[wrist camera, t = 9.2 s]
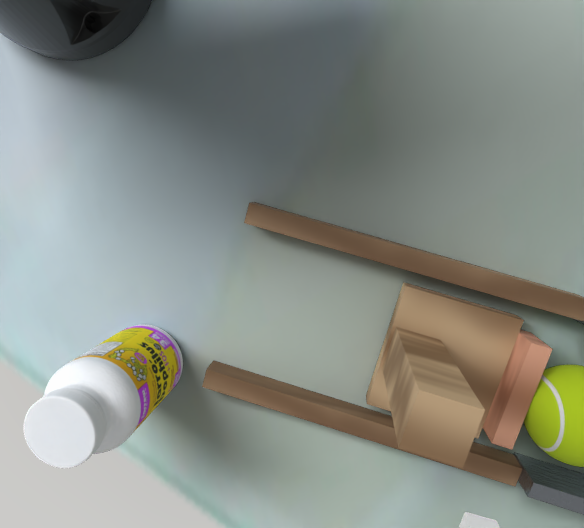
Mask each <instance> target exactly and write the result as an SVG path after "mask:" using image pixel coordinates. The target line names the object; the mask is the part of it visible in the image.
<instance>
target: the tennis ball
mask: <svg viewBox="0 0 584 528" xmlns="http://www.w3.org/2000/svg"><path fill="white" fill-rule="evenodd" d="M524 424H525V427H526V429H527V431H528V433H529V435H530V437H531V438H532V439H533V441H534V442H535V443H536V444H537V445H538V446H539V447H540V448H541V449H542V450H543V451H544V452H546V453H547V454H548V455H550V456H551V457H553V458H555V459H557V460H559V461H561V462H564V463H566V464H569V465H573V466H578V467H584V366H580V365H559V366H554V367H550V368H548V369H545V370H544V372H543V374H542V377H541V379H540V382H539V384H538V387H537V389H536V392H535V394H534V397H533V399H532V402H531V404H530V407H529V409H528V412H527V414H526V417H525V419H524Z"/></svg>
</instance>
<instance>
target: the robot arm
mask: <svg viewBox="0 0 584 528" xmlns="http://www.w3.org/2000/svg"><path fill="white" fill-rule="evenodd" d="M151 1H152V0H0V33H2V34H3V35H4V36H6V37H7V38H9V39H10V40H12V41H14V42H15V43H17V44H19V45H21V46H23V47H26V48H28V49H30V50H32V51H34V52H37V53H39V54H42V55H44V56H47V57H51V58H55V59H62V60H79V59H86V58H90V57H94V56H97V55H100V54H102V53H104V52H106V51H108V50H110V49H112V48H114V47H115V46H117V45H118V44H119V43H121V42H122V41H123V40H124V39H126V38H127V37H128V36H129V35H130V34H131V33H132V31H133V30H134V29H135V28H136V27H137V25H138V24H139V23H140V21H141V20H142V18H143V17H144V15H145V13H146V12H147V10H148V8H149V5H150V3H151ZM459 528H500V527H499V525H498V523H497V520H493V519H490V518H486V517H483V516H479V515H475V514H472V513H468V512H464V515H463V518H462V520H461V523H460V526H459Z"/></svg>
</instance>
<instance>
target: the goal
mask: <svg viewBox="0 0 584 528" xmlns="http://www.w3.org/2000/svg"><path fill="white" fill-rule="evenodd" d="M572 319H573V318H572ZM574 320H576V321H578V322H580V323H581V324H583V325H584V321H580V320H577V319H574ZM513 455H514V456H515V458H516V459H517V461H518V463H519V464H520V466H521V467H522V471H521V474H520V476H519V479H518V481H519V483H520V484H521V486H522V488H523V489H524V491H525V493H526V494H527V496H528V497H531V498H534V499H537V500H540V501H543V502H546V503H549V504H552V505H556V506H559V507H562V508H565V509H568V510H571V511H574V512H578V513H581V514H584V474H582V473H579V472H575V471H572V470H569V469H566V468H563V467H559V466H556V465H553V464H550V463H547V462H543V461H540V460H537V459H534V458H531V457H528V456H524V455H521V454H518V453H515V452H514V454H513Z"/></svg>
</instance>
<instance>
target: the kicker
mask: <svg viewBox="0 0 584 528" xmlns="http://www.w3.org/2000/svg"><path fill="white" fill-rule="evenodd" d="M523 321H524V320H522V319H521V318H520V317H518V316H517V315H514V314H511V313H507V312H504V311H500V310H497V309H494V308H490V307H487V306H483V305H480V304H476V303H473V302H470V301H466V300H463V299H459V298H456V297H453V296H449V295H446V294H442V293H439V292H435V291H432V290H429V289H425V288H422V287H418V286H415V285H411V284H408V283H405V282H403V285H402V288H401V291H400V294H399V297H398V300H397V303H396V306H395V309H394V313H393V316H392V319H391V322H390V325H389V328H388V331H387V334H386V337H385V340H384V343H383V346H382V349H381V352H380V355H379V358H378V361H377V364H376V367H375V370H374V373H373V376H372V379H371V382H370V385H369V388H368V391H367V394H366V400H367V404H369V405H372V406H375V407H378V408H382V409H385V410H388V411H391V413H392V418H393V423H394V428H395V433H396V438H397V443H398V448H399V449H403V450H406V451H409V452H412V453H415V454H418V455H421V456H425V457H428V458H431V459H434V460H437V461H440V462H443V463H447V464H450V465H453V466H456V467H459V468H462V469H463V466H464V464H465V461H466V458H467V456H468V453H469V451H470V448H471V445H472V443H473V440H474V438H479V436H480V433H481V430H482V428H483V429H484V431H485V432H486V434H487V436H488V438H489V439H490V441H491V443H492V444H496V445H499V446H502V447H505V448H508V449H513V446H514V444H515V441H516V439H517V436H518V434H519V431H520V429H521V426H522V424H523V421H524V419H525V417H526V414H527V412H528V409H529V407H530V404H531V402H532V399H533V397H534V394H535V392H536V389H537V387H538V384H539V382H540V379H541V377H542V374H543V372H544V369H545V367H546V364H547V362H548V359H549V357H550V354H551V352H552V348H550V347H549V346H548V345H547V344H545V343H544V342H543V341H541V340H540V339H539V338H537V337H536V336H535V335H533V334H532V333H530V332H527V331H524V330H520V329H521V327H522V324H523Z"/></svg>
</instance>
